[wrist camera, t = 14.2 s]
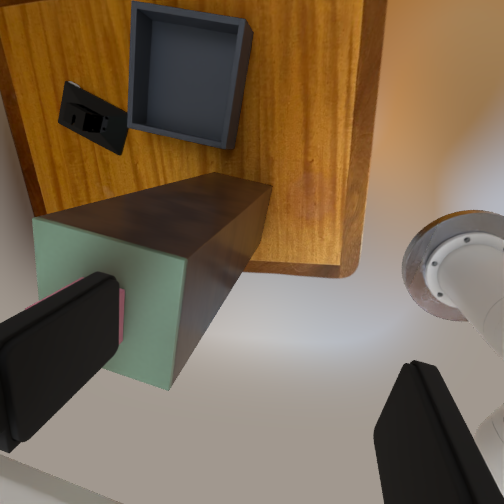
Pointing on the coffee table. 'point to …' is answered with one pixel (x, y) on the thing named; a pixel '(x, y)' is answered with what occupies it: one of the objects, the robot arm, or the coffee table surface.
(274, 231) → the coffee table surface
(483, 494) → the robot arm
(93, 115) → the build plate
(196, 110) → the basin
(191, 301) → the stand
